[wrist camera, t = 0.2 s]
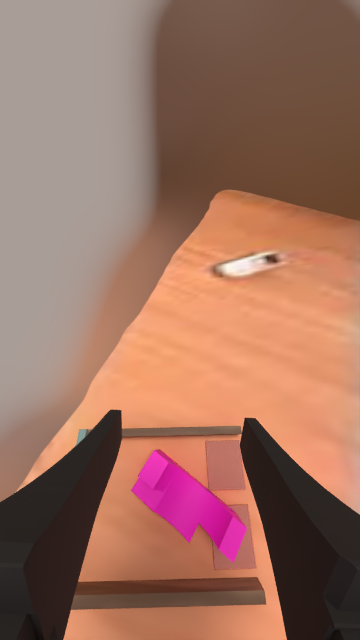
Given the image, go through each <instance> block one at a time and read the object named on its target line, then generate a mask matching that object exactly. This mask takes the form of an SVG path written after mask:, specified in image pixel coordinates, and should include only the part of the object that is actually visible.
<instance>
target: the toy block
mask: <svg viewBox="0 0 360 640" xmlns="http://www.w3.org/2000/svg"><path fill="white" fill-rule="evenodd" d="M138 476H139V479H138V480H137V482H136V484H135V485H134V487H133V488H132V490H131V491H132V492H133V493H134V494H135V495H136V496H138V497H139V498H140V499H141V500H142V501H143V502H144V503H145V504H146V505H147V506H148V507H149V508H150V509H151V510H152V511H154V512H156V513H157V514H159V515H160V516H162V517H163V518H164V519H166V520H167V521H168V522H169V523H170V524H171V525H173V526H174V527H175V528H176V529H177V530H178V531H179V532H180V533H181V534H182V535H183V536H184V538H185V539H186V540H187V541H188V542H190V540H191V538H192V536H193V534H194V532H195V530H196V528H197V526H198V524H200V525H201V526H202V527H203V528H204V529H205V531H206V532H207V533H208V534H209V535H210V537H211V538H212V540H213V541H214V542H215V544H216V546H217V547H218V549H219V551H221V552H222V553H223V554H224V555H225V556H226V557H227V558H228V559H229V560H230V561H232V562H233V563H234V561H235V558H236V556H237V553H238V550H239V548H240V545H241V543H242V540H243V538H244V535H245V533H246V530H247V528H246V526H245V525H244V523H243V522H242V521H241V519H240V518H239V516H238V515H237V514H236V512H235V511H233V510H232V509H231V508H230V507H229V506H227V505H226V504H225V503H224V502H223V501H221V500H220V499H219V498H218V497H217V496H215V495H214V494H213V493H212V492H211V491H209V490H208V489H207V488H206V487H205V486H203V485H202V484H201V483H200V482H198V481H197V480H196V479H195V478H194V477H192V476H191V475H190V474H189V473H188V472H186V471H185V470H184V469H183V468H182V467H180V466H179V465H178V464H177V463H176V462H174V461H173V460H172V459H171V458H170V457H168V456H167V455H166V454H165V453H164V452H162V451H161V450H160V449H159V450H154V451H153V453H152V454H151V456H150V458H149V459H148V461H147V462H146V464H145V465H144V467H143V469H142V470H141V472H140V473H139V475H138Z"/></svg>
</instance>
